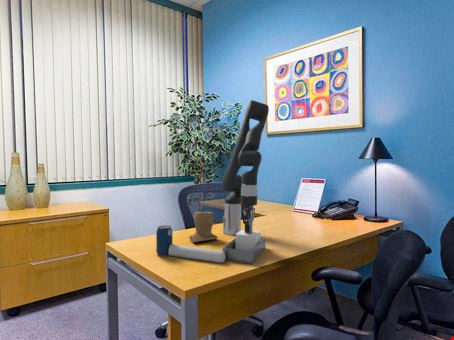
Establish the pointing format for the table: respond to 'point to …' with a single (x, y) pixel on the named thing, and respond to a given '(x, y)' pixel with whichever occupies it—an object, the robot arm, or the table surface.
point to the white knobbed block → (247, 239)
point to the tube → (197, 253)
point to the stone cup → (203, 227)
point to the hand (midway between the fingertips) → (248, 231)
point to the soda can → (163, 240)
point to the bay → (243, 252)
